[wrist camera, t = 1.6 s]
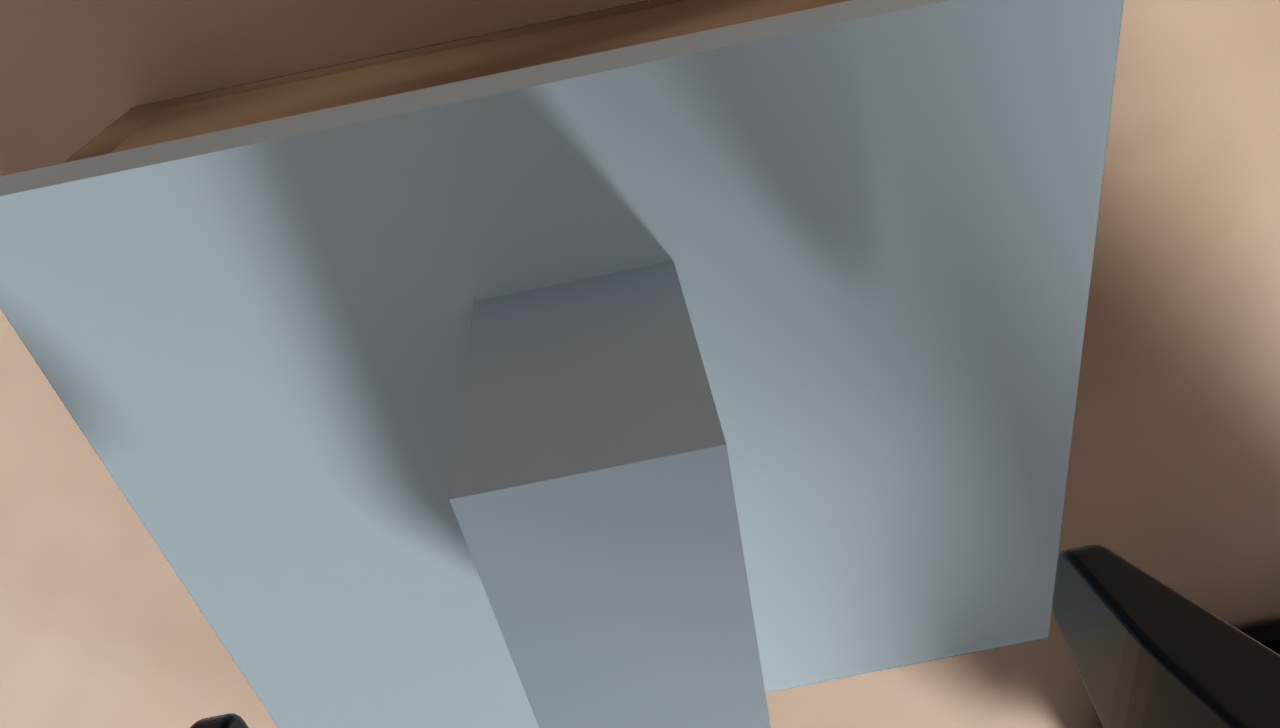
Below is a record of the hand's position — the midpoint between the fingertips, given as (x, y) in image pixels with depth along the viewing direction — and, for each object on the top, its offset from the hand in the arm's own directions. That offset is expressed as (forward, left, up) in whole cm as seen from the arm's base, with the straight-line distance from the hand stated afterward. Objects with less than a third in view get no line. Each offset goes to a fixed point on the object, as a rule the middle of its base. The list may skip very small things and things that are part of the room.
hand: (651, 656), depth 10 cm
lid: (0, 0, -4) cm, 4 cm away
